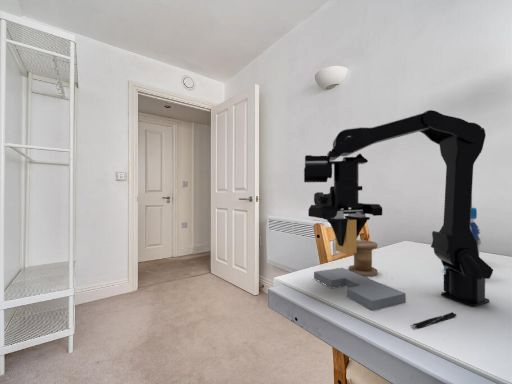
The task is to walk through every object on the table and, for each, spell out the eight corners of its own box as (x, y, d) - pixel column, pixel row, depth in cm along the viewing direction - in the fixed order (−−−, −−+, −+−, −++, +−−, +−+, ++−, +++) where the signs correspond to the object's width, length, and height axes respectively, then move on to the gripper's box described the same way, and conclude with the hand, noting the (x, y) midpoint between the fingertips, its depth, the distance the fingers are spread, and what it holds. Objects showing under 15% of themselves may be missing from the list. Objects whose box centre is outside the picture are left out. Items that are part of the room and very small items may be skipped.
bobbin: (383, 274, 73) (383, 244, 73) (363, 278, 70) (363, 246, 70) (362, 266, 80) (362, 239, 80) (343, 269, 77) (343, 241, 77)
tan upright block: (356, 252, 60) (356, 219, 60) (346, 254, 58) (346, 220, 58) (344, 249, 63) (344, 218, 63) (335, 250, 62) (335, 218, 62)
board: (405, 302, 55) (405, 293, 55) (372, 310, 51) (372, 301, 51) (341, 274, 73) (341, 267, 73) (314, 278, 69) (314, 271, 69)
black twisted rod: (414, 331, 44) (414, 326, 44) (409, 328, 45) (409, 323, 45) (456, 318, 48) (456, 313, 48) (450, 316, 49) (451, 311, 49)
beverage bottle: (436, 272, 75) (436, 206, 75) (454, 269, 78) (454, 206, 78) (468, 281, 67) (469, 208, 67) (487, 277, 70) (487, 207, 70)
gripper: (350, 183, 72) (350, 236, 72) (296, 182, 65) (296, 242, 65) (383, 182, 62) (383, 244, 62) (323, 181, 54) (323, 251, 54)
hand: (346, 245), depth 61 cm, fingers closed on tan upright block, 3 cm apart
